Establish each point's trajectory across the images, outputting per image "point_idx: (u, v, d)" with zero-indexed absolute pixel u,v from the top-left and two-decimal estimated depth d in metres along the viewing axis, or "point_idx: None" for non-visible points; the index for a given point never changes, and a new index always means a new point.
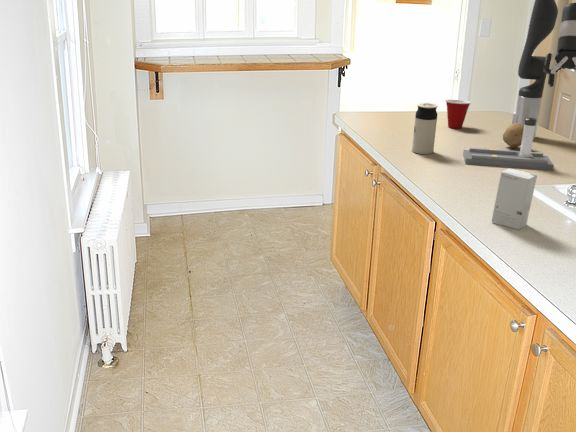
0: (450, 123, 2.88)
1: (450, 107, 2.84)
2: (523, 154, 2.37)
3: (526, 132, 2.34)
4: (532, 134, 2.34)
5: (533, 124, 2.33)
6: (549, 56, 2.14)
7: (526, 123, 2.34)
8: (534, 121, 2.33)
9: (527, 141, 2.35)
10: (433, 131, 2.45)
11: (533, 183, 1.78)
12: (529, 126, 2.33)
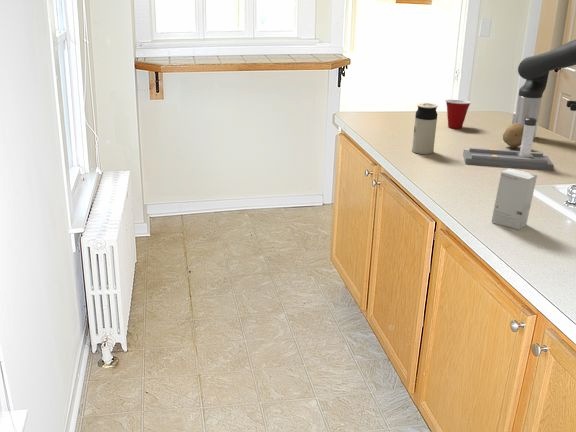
0: (450, 123, 2.88)
1: (450, 107, 2.84)
2: (523, 154, 2.37)
3: (526, 132, 2.34)
4: (532, 134, 2.34)
5: (533, 124, 2.33)
6: None
7: (526, 123, 2.34)
8: (534, 121, 2.33)
9: (527, 141, 2.35)
10: (433, 131, 2.45)
11: (533, 183, 1.78)
12: (529, 126, 2.33)
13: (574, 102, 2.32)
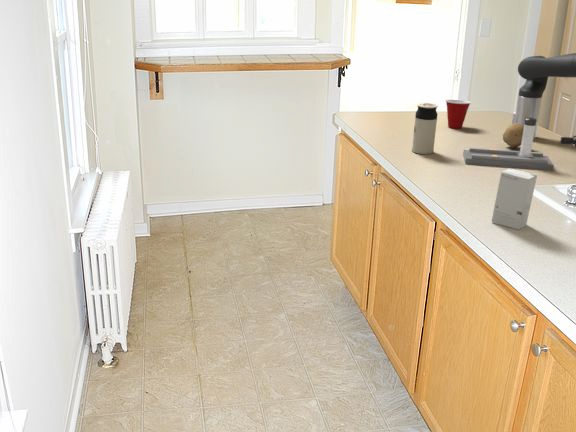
0: (450, 123, 2.88)
1: (450, 107, 2.84)
2: (523, 154, 2.37)
3: (526, 132, 2.34)
4: (532, 134, 2.34)
5: (533, 124, 2.33)
6: None
7: (526, 123, 2.34)
8: (534, 121, 2.33)
9: (527, 141, 2.35)
10: (433, 131, 2.45)
11: (533, 183, 1.78)
12: (529, 126, 2.33)
13: None
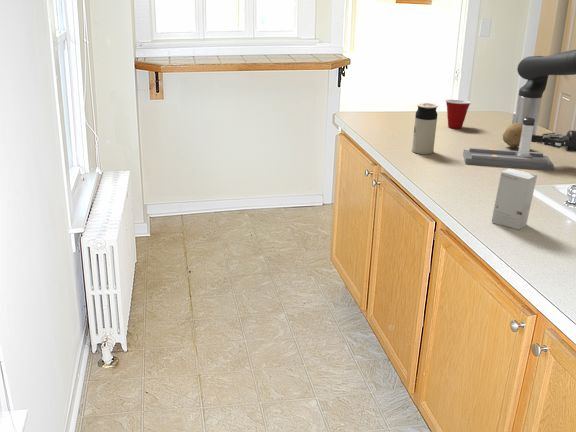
0: (450, 123, 2.88)
1: (450, 107, 2.84)
2: (521, 154, 2.37)
3: (524, 132, 2.34)
4: (530, 134, 2.34)
5: (531, 124, 2.33)
6: None
7: (524, 123, 2.34)
8: (532, 121, 2.33)
9: (526, 141, 2.35)
10: (433, 131, 2.45)
11: (533, 183, 1.78)
12: (527, 126, 2.33)
13: None
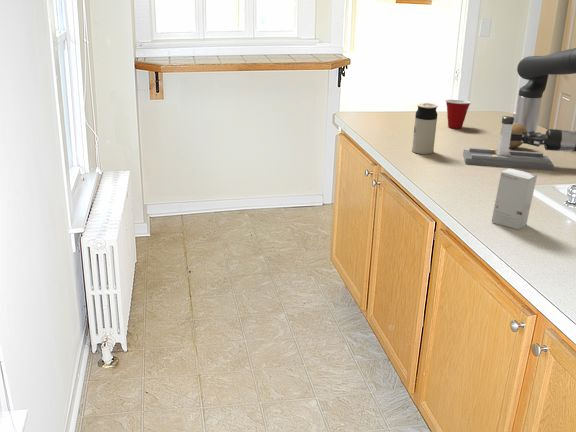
0: (450, 123, 2.88)
1: (450, 107, 2.84)
2: (501, 152, 2.38)
3: (504, 130, 2.35)
4: (509, 132, 2.35)
5: (510, 123, 2.34)
6: None
7: (503, 122, 2.35)
8: (511, 120, 2.34)
9: (505, 139, 2.36)
10: (433, 131, 2.45)
11: (533, 183, 1.78)
12: (506, 125, 2.34)
13: None
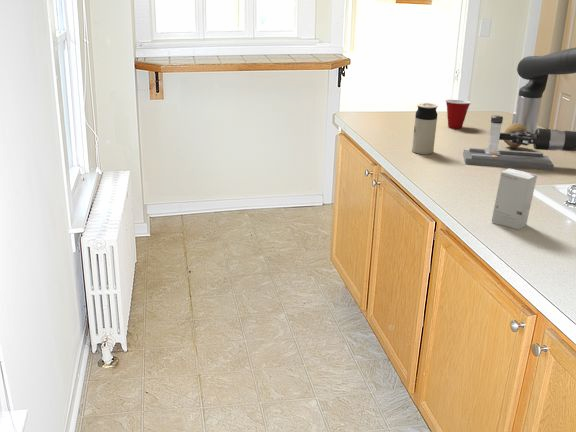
0: (450, 123, 2.88)
1: (450, 107, 2.84)
2: (490, 152, 2.39)
3: (493, 130, 2.36)
4: (498, 132, 2.36)
5: (499, 122, 2.35)
6: None
7: (492, 121, 2.35)
8: (500, 119, 2.34)
9: (494, 138, 2.37)
10: (433, 131, 2.45)
11: (533, 183, 1.78)
12: (495, 124, 2.35)
13: None
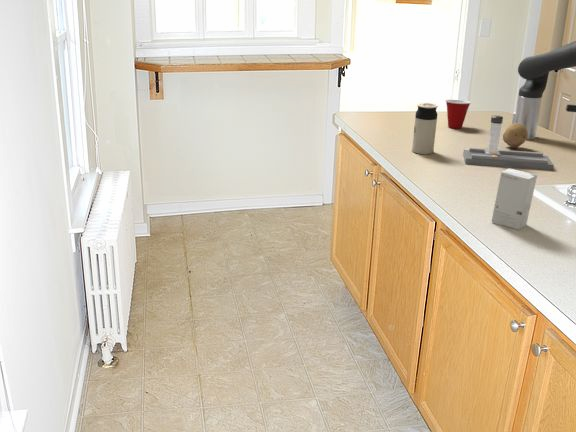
0: (450, 123, 2.88)
1: (450, 107, 2.84)
2: (490, 152, 2.39)
3: (492, 130, 2.36)
4: (498, 132, 2.36)
5: (499, 122, 2.35)
6: None
7: (492, 121, 2.35)
8: (500, 119, 2.34)
9: (494, 138, 2.37)
10: (433, 131, 2.45)
11: (533, 183, 1.78)
12: (495, 124, 2.35)
13: None
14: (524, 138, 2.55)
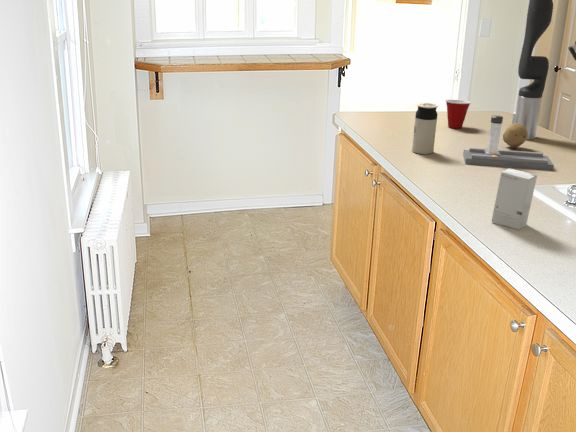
0: (450, 123, 2.88)
1: (450, 107, 2.84)
2: (490, 152, 2.39)
3: (492, 130, 2.36)
4: (498, 132, 2.36)
5: (499, 122, 2.35)
6: (572, 49, 2.36)
7: (492, 121, 2.35)
8: (500, 119, 2.34)
9: (494, 138, 2.37)
10: (433, 131, 2.45)
11: (533, 183, 1.78)
12: (495, 124, 2.35)
13: None
14: (524, 138, 2.55)
